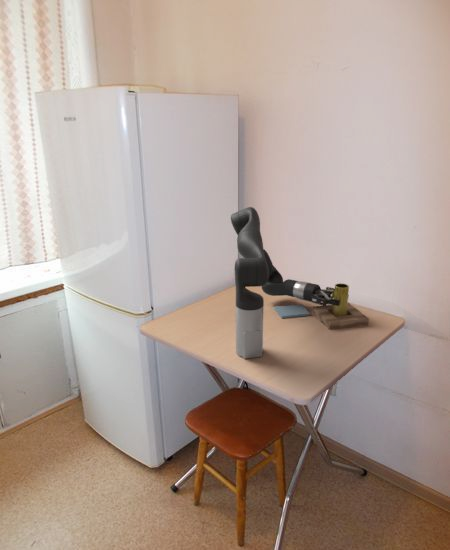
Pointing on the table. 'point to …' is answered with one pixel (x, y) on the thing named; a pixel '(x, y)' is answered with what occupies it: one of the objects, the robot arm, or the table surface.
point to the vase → (341, 299)
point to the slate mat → (291, 311)
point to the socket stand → (340, 317)
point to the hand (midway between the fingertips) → (343, 299)
